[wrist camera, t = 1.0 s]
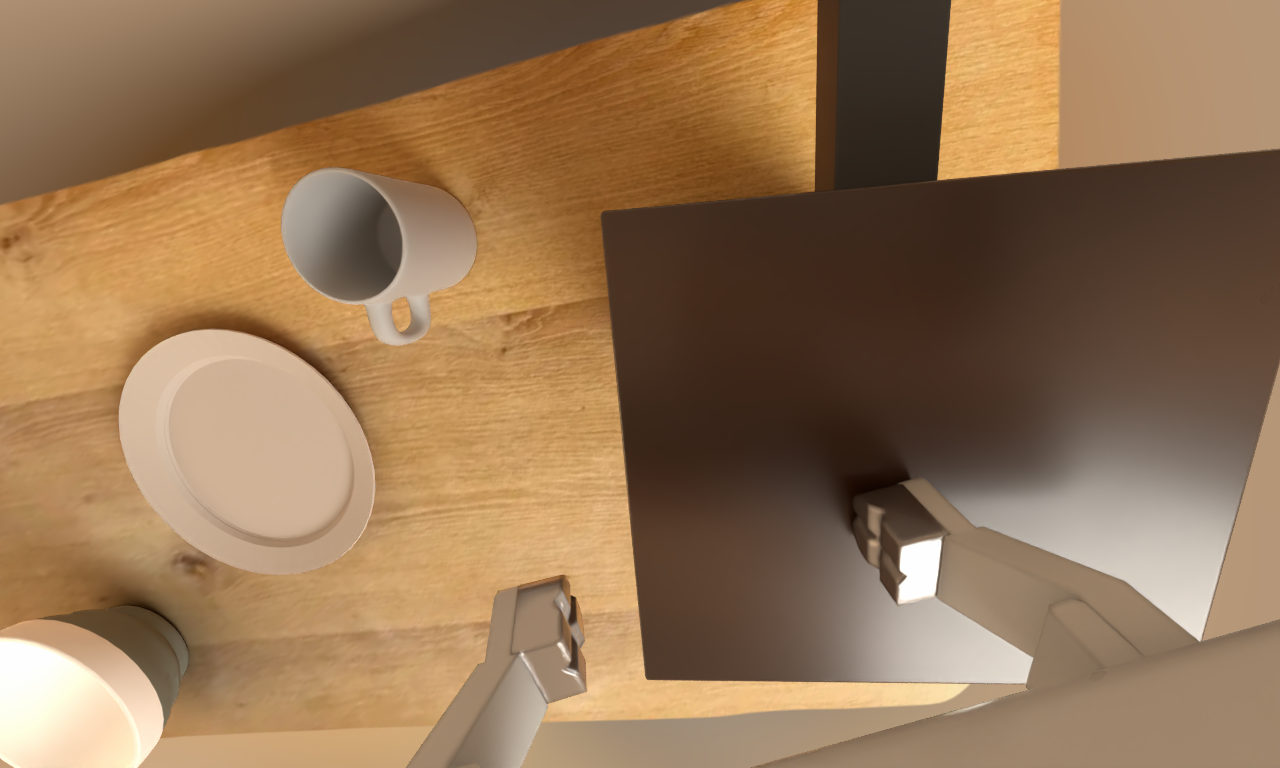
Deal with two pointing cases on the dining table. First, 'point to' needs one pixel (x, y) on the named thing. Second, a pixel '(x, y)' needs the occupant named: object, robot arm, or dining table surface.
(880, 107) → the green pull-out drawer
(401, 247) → the mug
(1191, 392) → the stand
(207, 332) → the plate
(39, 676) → the bowl
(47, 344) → the dining table surface
